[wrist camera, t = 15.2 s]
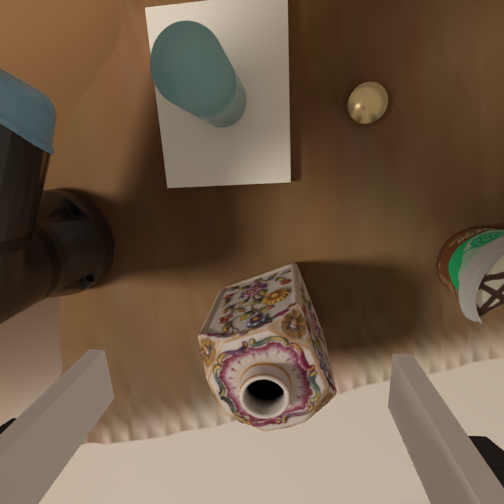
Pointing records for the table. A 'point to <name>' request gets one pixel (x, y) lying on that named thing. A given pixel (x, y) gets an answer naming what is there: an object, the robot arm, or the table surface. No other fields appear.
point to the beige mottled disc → (367, 103)
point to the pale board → (257, 98)
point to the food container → (474, 269)
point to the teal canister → (197, 74)
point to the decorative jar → (267, 351)
